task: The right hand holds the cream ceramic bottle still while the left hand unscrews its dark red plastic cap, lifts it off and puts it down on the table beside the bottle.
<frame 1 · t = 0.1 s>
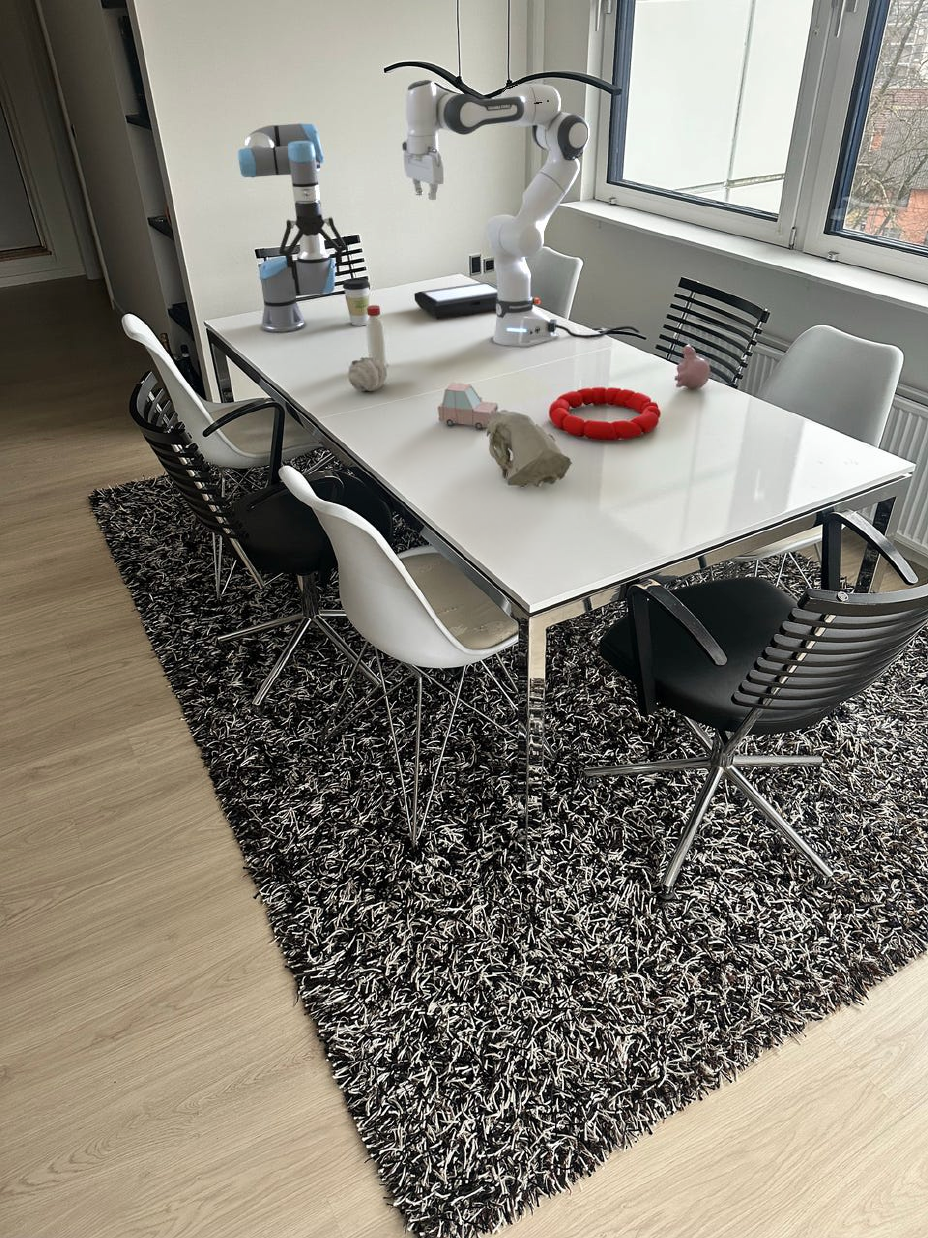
left hand: (316, 276, 273), 28 cm above the table, tool pointing down, fingers open, 13 cm apart
right hand: (425, 197, 268), 48 cm above the table, tool pointing down, fingers open, 8 cm apart
seashell: (369, 390, 269), on the table
figurine: (690, 388, 263), on the table
decorative ring: (603, 422, 244), on the table
coffee cup: (360, 323, 327), on the table
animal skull: (520, 470, 220), on the table
cap: (373, 307, 277), point 18 cm above the table, screwed on, not yet turned
bottle: (378, 365, 288), on the table
electronic device: (463, 308, 339), on the table
toy car: (468, 423, 246), on the table
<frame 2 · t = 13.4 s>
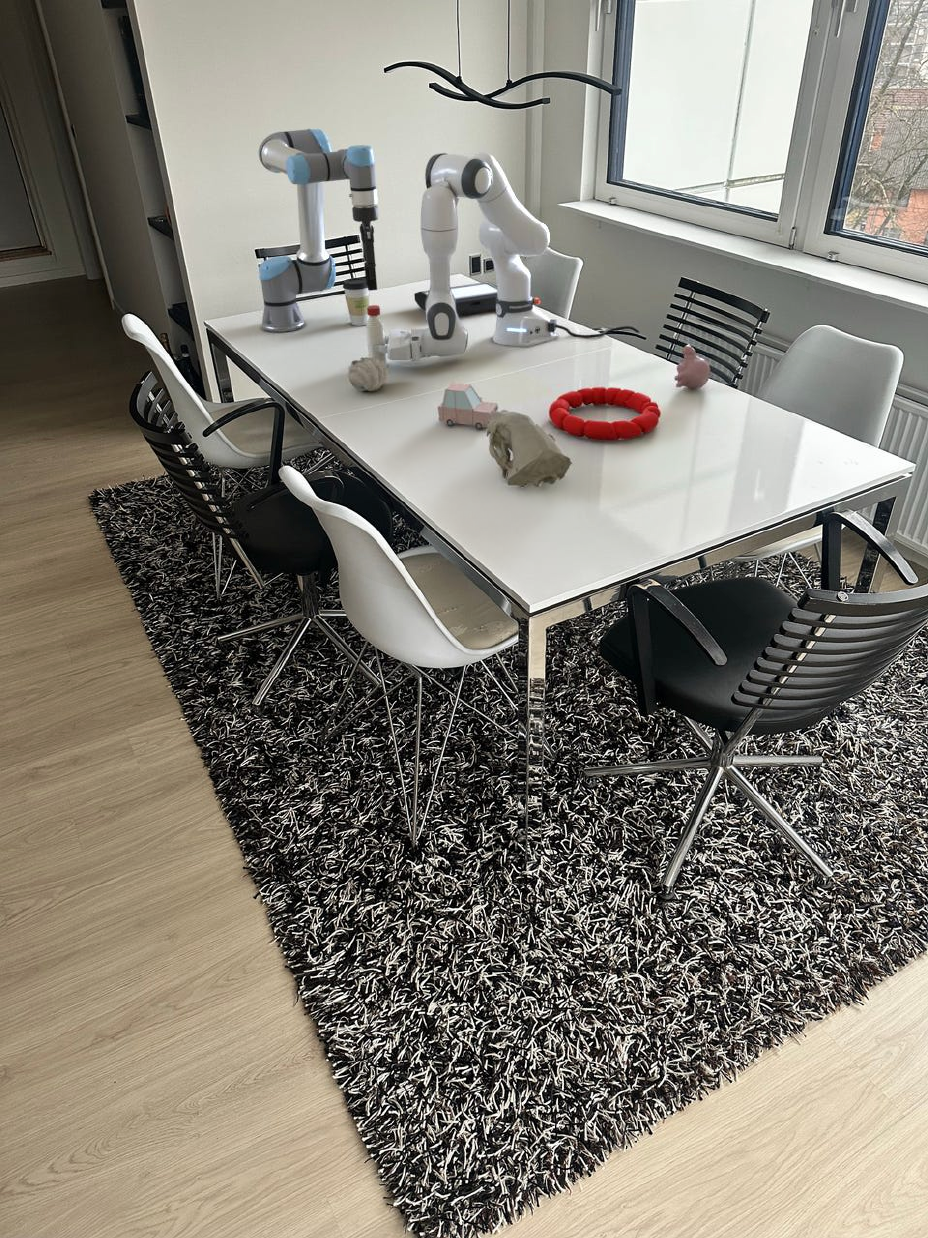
left hand: (371, 286, 274), 25 cm above the table, tool pointing down, fingers open, 6 cm apart
right hand: (373, 344, 284), 7 cm above the table, tool horizontal, fingers closed on bottle, 5 cm apart
bottle: (378, 365, 288), on the table, touching right hand
everything else where it was.
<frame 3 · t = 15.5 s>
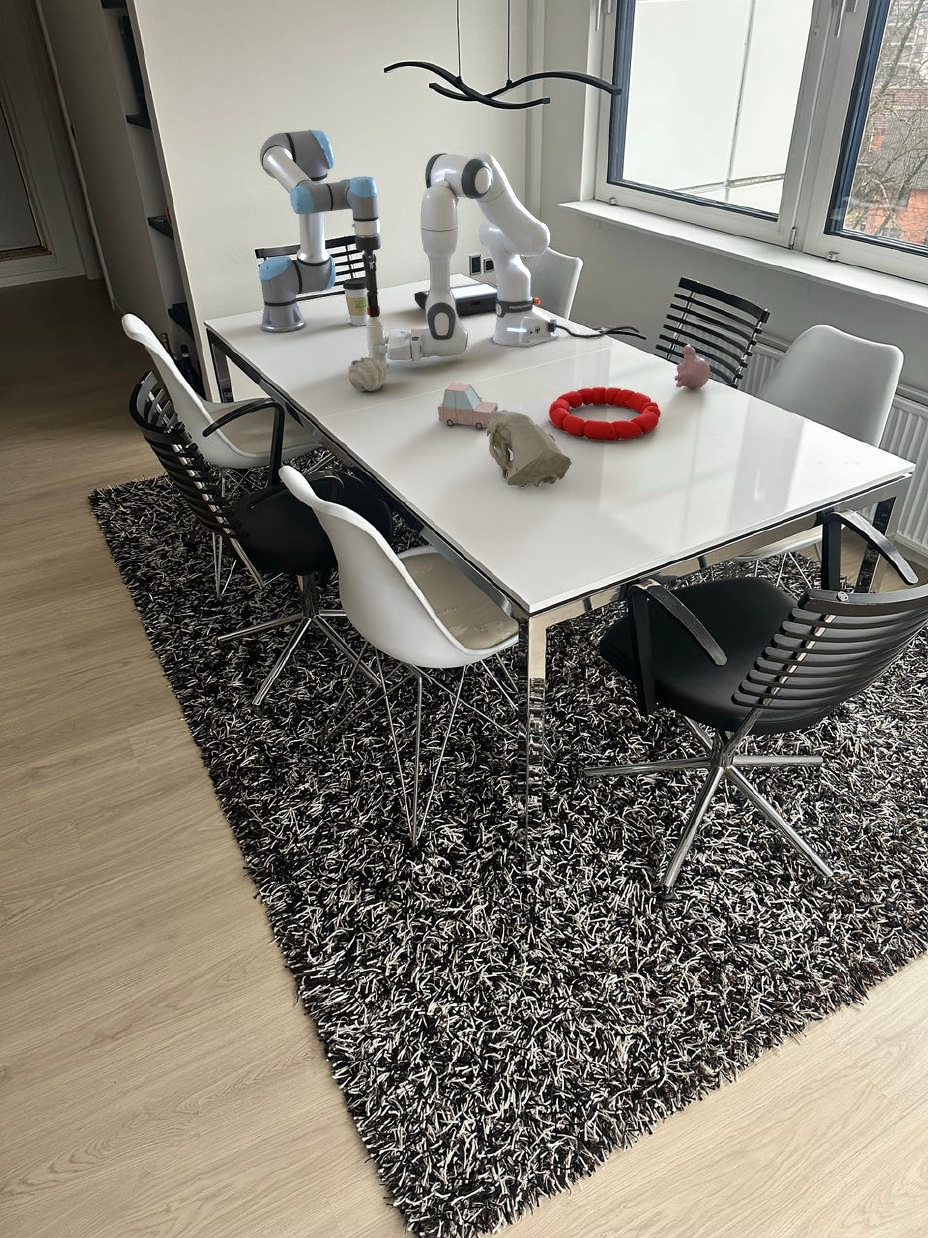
left hand: (373, 314, 278), 16 cm above the table, tool pointing down, fingers closed on cap, 4 cm apart
right hand: (373, 344, 284), 7 cm above the table, tool horizontal, fingers closed on bottle, 5 cm apart
cap: (373, 307, 277), point 18 cm above the table, screwed on, not yet turned, touching left hand
bottle: (378, 365, 288), on the table, touching right hand
everything else where it was.
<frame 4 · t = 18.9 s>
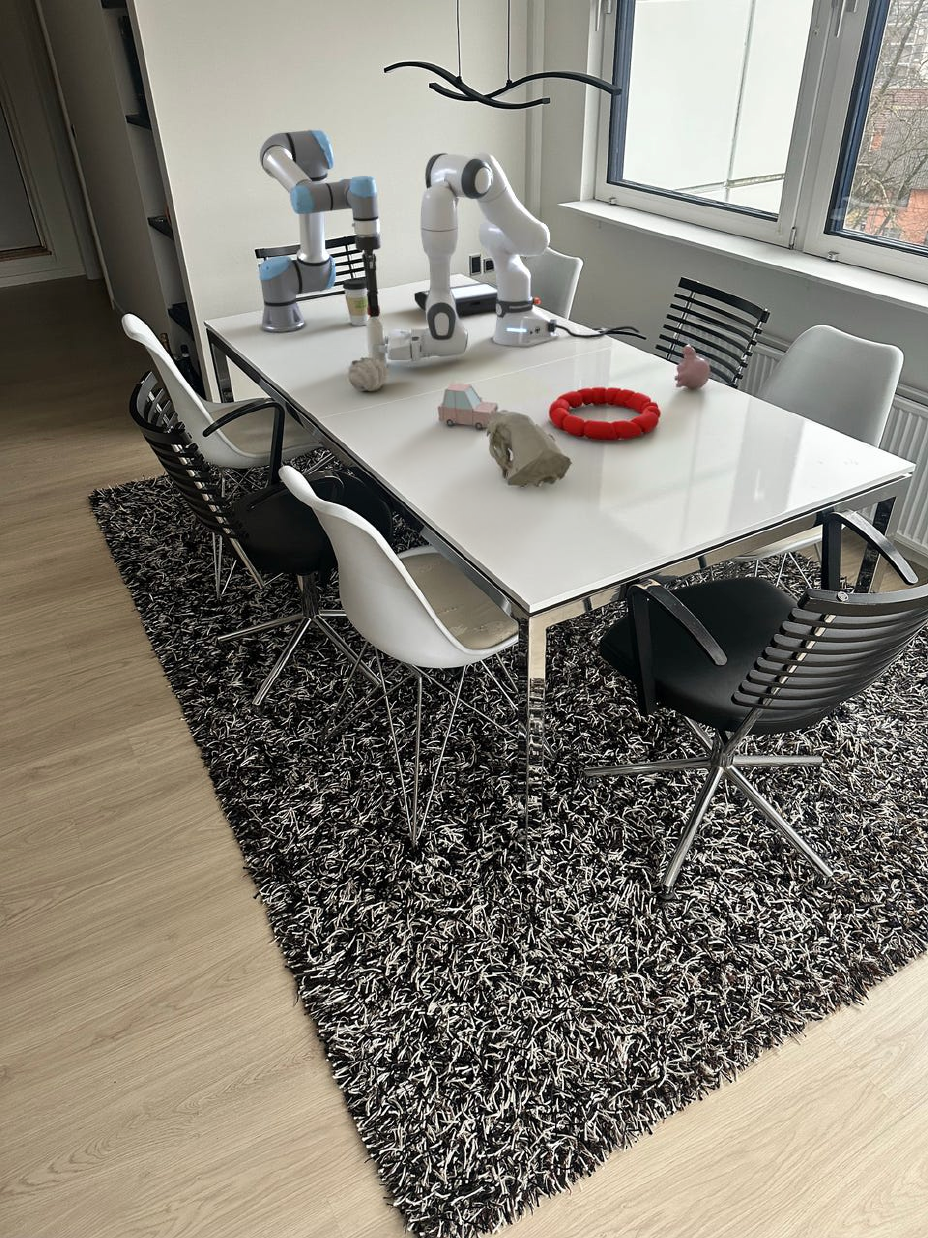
left hand: (373, 314, 278), 16 cm above the table, tool pointing down, fingers closed on cap, 4 cm apart
right hand: (373, 344, 284), 7 cm above the table, tool horizontal, fingers closed on bottle, 5 cm apart
cap: (373, 307, 277), point 18 cm above the table, turned 99° so far, risen 0.1 cm, still on its thread, touching left hand
bottle: (378, 365, 288), on the table, touching right hand
everything else where it was.
when the left hand's fingers open (1 cm above the table, at t = 32.4 s): cap drops 1 cm, point 2 cm above the table.
when the right hand's fingers open (7 cm above the table, at t = 33.8 s): bottle stays where it is, on the table.
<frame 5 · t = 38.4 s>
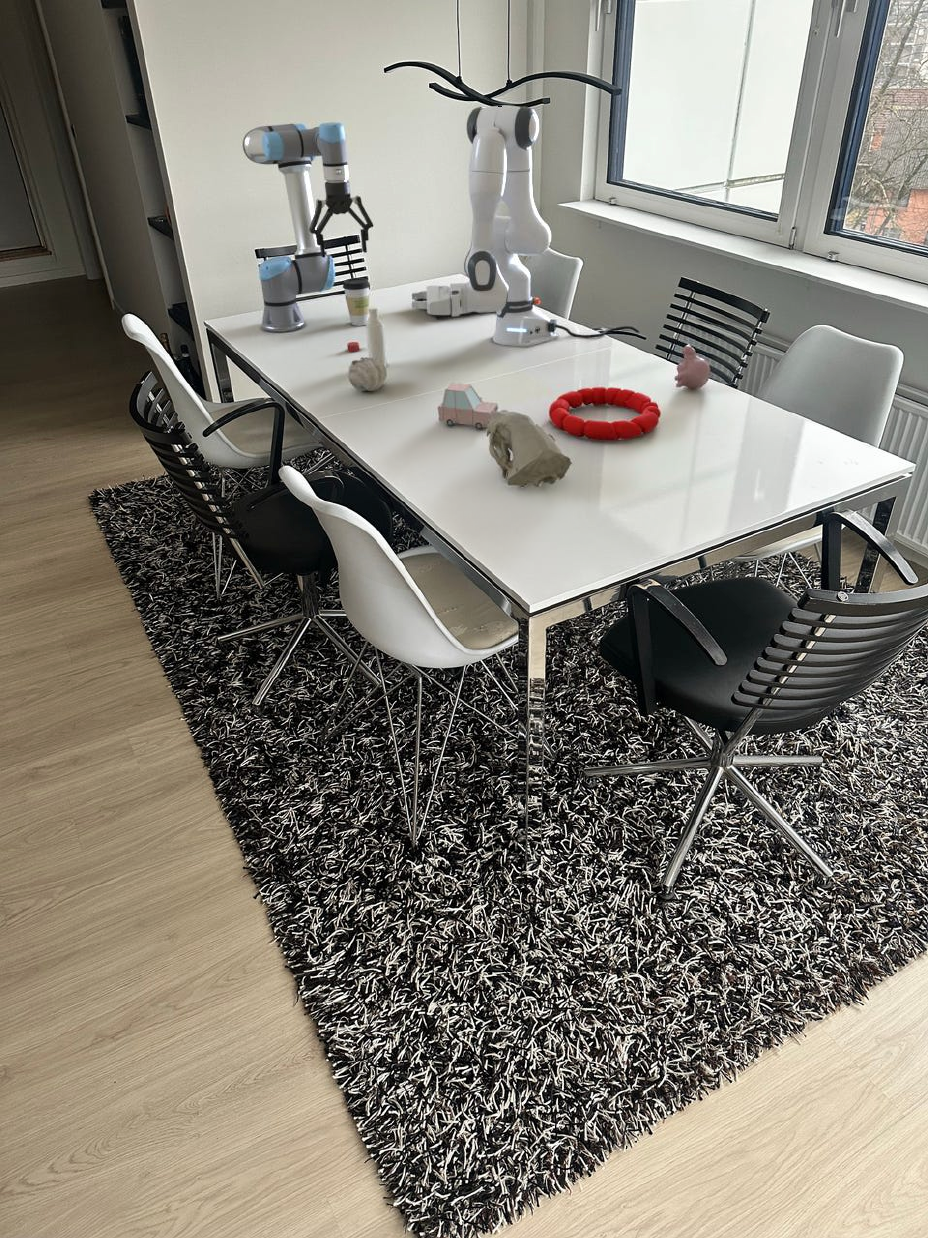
left hand: (344, 254, 284), 31 cm above the table, tool pointing down, fingers open, 13 cm apart
right hand: (411, 300, 276), 20 cm above the table, tool horizontal, fingers open, 8 cm apart
cap: (353, 344, 300), point 2 cm above the table, off its thread
bottle: (378, 365, 288), on the table
everything else where it was.
at the end: cap came off its thread; cap point 2.0 cm above the table; the left hand is holding nothing; the right hand is holding nothing; bottle tilted 0°; bottle moved 0.0 cm from its start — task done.
